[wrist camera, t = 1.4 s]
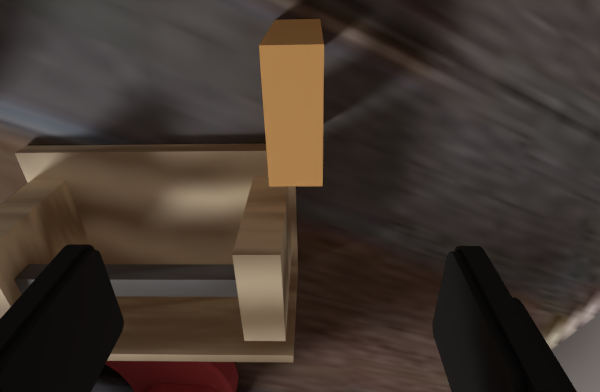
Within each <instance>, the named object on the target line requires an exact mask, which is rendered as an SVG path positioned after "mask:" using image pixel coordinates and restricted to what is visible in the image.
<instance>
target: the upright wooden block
mask: <svg viewBox="0 0 600 392" xmlns="http://www.w3.org/2000/svg"><path fill="white" fill-rule="evenodd" d="M259 51H260V65H261V80H262V94H263V108H264V122H265V136H266V150H267V164H268V178H269V187H279V186H323V99H324V41H323V34H322V27H321V21H320V19H286V20H275V21H274V23H273V24H272V26H271V27H270V29H269V30H268V32H267V34H266V35H265V37H264V38H263V40H262V42H261V43H260V45H259Z"/></svg>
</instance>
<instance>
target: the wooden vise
mask: <svg viewBox="0 0 600 392" xmlns="http://www.w3.org/2000/svg"><path fill="white" fill-rule="evenodd" d="M15 155H16V157H17V159H18V162H19V164H20V166H21V168H22V171H23V173H24V175H25V178H26V180H27V182H28V183H27V184H26V185H25V186H23V187H22V188H21V189H19V190H18V191H17V192H16V193H14V194H13V195H12V196H10V197H9V198H8V199H7V200H5V201H4V202H3V203H1V204H0V318H1V317H2V316H3V315H4V314H5V313H6V312H7V311H8V309H9V308H10V307H11V306H12V305H13V304H14V303H15V301H16V300H17V299H18V298H19V297H20V296H21V295H22V294H23V292H24V291H25V290H26V289H27V288H28V287H29V286H30V285H31V283H32V282H33V281H34V280H35V279H36V278H37V277H38V276H39V274H40V273H41V272H42V271H43V270H44V269H45V268H46V267H47V265H48V264H49V263H50V262H51V261H52V260H53V259H54V257H55V256H56V255H57V254H58V253H59V252H60V251H61V250H62V248H63V247H65V246H66V245H69V244H89V245H92V246H93V247H94V249H95V250H98V251H99V252H100V254H101V256H102V259H103V262H104V265H105V268H106V270H107V273H108V276H109V279H110V282H111V285H112V287H113V290H114V293H115V296H116V299H117V301H118V304H119V307H120V310H121V313H122V316H123V319H124V327H123V331H122V333H121V335H120V337H119V339H118V341H117V343H116V345H115V346H114V348H113V350H112V352H111V354H110V356H109V358H108V360H107V361H192V362H294V341H295V319H296V297H297V275H298V242H297V210H296V186H279V187H269V178H268V164H267V150H266V143H259V144H151V145H44V146H25V147H23V148H22V149H20V150H19V151H17V152H16V153H15Z"/></svg>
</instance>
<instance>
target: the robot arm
mask: <svg viewBox="0 0 600 392" xmlns="http://www.w3.org/2000/svg"><path fill="white" fill-rule="evenodd" d="M123 327H124V319H123V316H122V313H121V310H120V307H119V304H118V301H117V299H116V296H115V293H114V290H113V287H112V285H111V282H110V279H109V276H108V273H107V270H106V268H105V265H104V262H103V259H102V256H101V254H100V252H99V251H98V250H95V249H94V247H93V246H92V245H89V244H69V245H66V246H65V247H63V248H62V250H61V251H60V252H59V253H58V254H57V255H56V256H55V257H54V259H53V260H52V261H51V262H50V263H49V264H48V265H47V267H46V268H45V269H44V270H43V271H42V272H41V273H40V274H39V276H38V277H37V278H36V279H35V280H34V281H33V282H32V283H31V285H30V286H29V287H28V288H27V289H26V290H25V291H24V292H23V294H22V295H21V296H20V297H19V298H18V299H17V300H16V301H15V303H14V304H13V305H12V306H11V307H10V308H9V309H8V311H7V312H6V313H5V314H4V315H3V316H2V317H1V318H0V392H91V390H92V389H93V387H94V385H95V383H96V381H97V379H98V377H99V375H100V373H101V371H102V369H103V367H104V366H105V364H106V362H107V360H108V358H109V356H110V354H111V352H112V350H113V348H114V346H115V345H116V343H117V341H118V339H119V337H120V335H121V333H122V331H123ZM433 335H434V338H435V341H436V344H437V348H438V351H439V354H440V357H441V360H442V363H443V366H444V369H445V372H446V375H447V378H448V382H449V385H450V388H451V391H452V392H577V391H576V390H575V388H574V387H573V385H572V383H571V382H570V380H569V378H568V377H567V375H566V373H565V372H564V370H563V369H562V367H561V365H560V364H559V362H558V361H557V359H556V357H555V356H554V354H553V352H552V351H551V349H550V347H549V346H548V344H547V343H546V341H545V339H544V338H543V336H542V334H541V333H540V331H539V330H538V328H537V326H536V325H535V323H534V321H533V320H532V318H531V317H530V315H529V313H528V312H527V310H526V308H525V307H524V305H523V304H522V303H521V302H520V300H518V299H517V298H512V297H511V295H510V293H509V291H508V290H507V288H506V286H505V285H504V283H503V281H502V280H501V278H500V276H499V275H498V273H497V271H496V270H495V268H494V266H493V265H492V263H491V261H490V260H489V258H488V256H487V255H486V253H485V251H484V250H483V248H482V247H480V246H458V247H456V249H455V251H454V252H449V253H448V256H447V261H446V265H445V270H444V274H443V279H442V283H441V288H440V292H439V296H438V301H437V305H436V310H435V314H434V319H433Z"/></svg>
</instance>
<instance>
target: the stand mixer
mask: <svg viewBox="0 0 600 392" xmlns="http://www.w3.org/2000/svg"><path fill="white" fill-rule="evenodd" d="M106 365H108V366H109V367H111V368H112V369H114V370H115V371H116V372H118V373H119V374H120V375H121V376H122V377H123V378H124V379H125V380H126V381H127V382H128V383H129V385H130V386H131V387H132V389H133V392H236V390H237V384H238V378H239V375H238V372H237V369H236V366H235V363H234V362H192V361H107V362H106Z"/></svg>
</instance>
